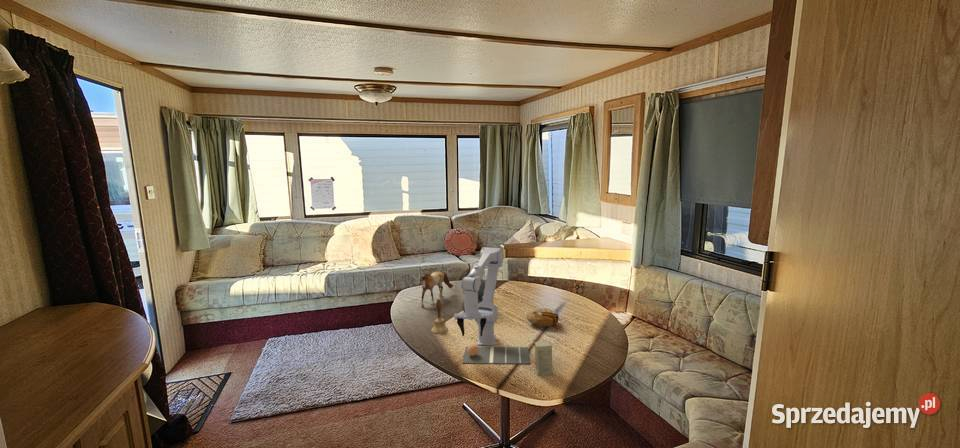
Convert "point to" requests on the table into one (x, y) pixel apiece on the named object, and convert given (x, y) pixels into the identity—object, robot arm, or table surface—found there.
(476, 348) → the ball
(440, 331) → the hand bell
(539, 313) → the nautilus
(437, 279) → the horse figurine
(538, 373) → the skincare box
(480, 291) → the koala plush
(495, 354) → the lane mat
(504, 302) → the table surface
